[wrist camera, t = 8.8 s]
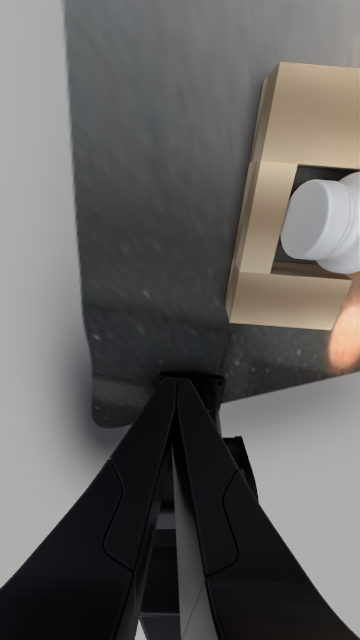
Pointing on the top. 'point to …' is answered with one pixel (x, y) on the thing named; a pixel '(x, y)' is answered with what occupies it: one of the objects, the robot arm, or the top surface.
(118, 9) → the top surface
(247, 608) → the robot arm
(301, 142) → the beige c-shaped block
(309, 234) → the supplement bottle
